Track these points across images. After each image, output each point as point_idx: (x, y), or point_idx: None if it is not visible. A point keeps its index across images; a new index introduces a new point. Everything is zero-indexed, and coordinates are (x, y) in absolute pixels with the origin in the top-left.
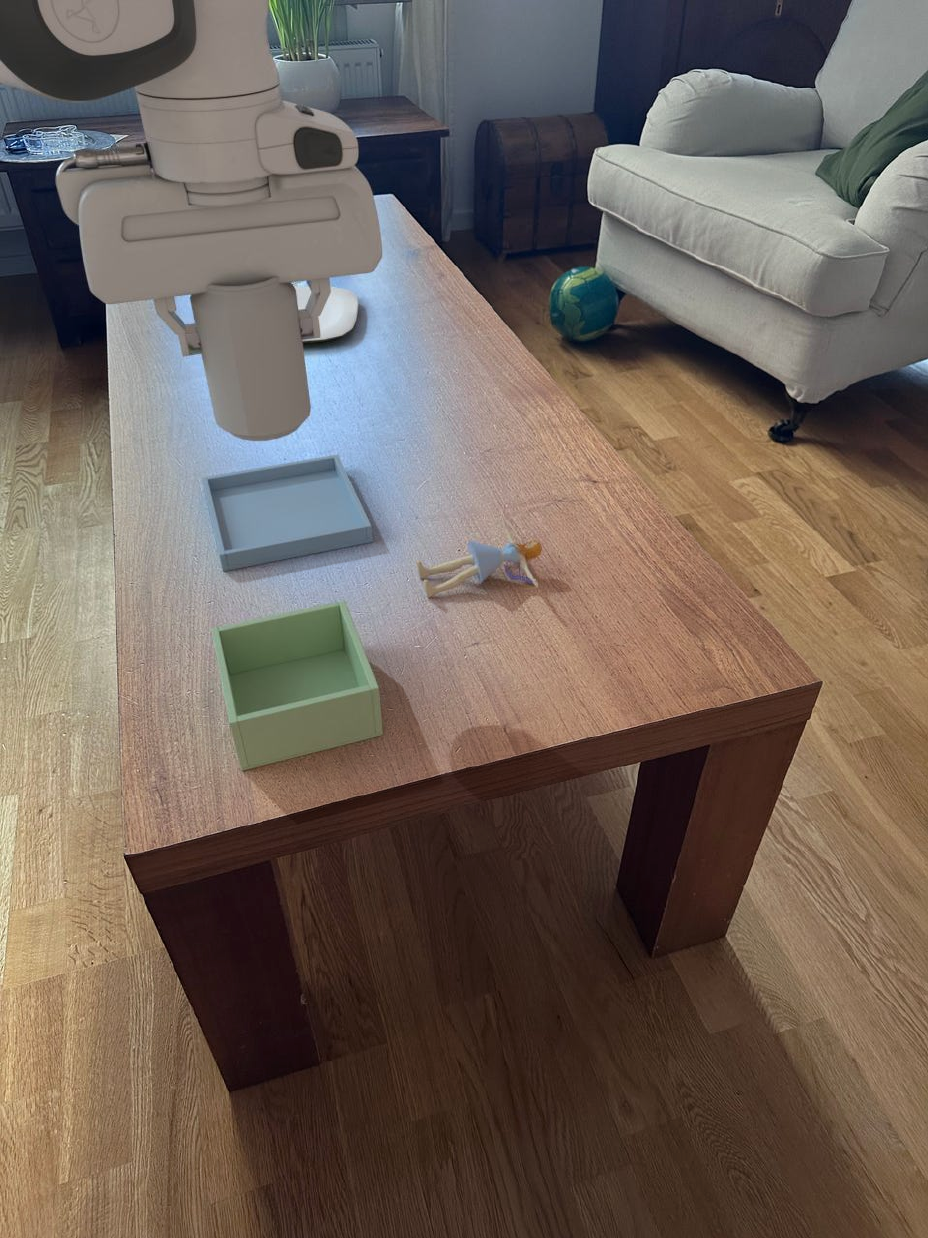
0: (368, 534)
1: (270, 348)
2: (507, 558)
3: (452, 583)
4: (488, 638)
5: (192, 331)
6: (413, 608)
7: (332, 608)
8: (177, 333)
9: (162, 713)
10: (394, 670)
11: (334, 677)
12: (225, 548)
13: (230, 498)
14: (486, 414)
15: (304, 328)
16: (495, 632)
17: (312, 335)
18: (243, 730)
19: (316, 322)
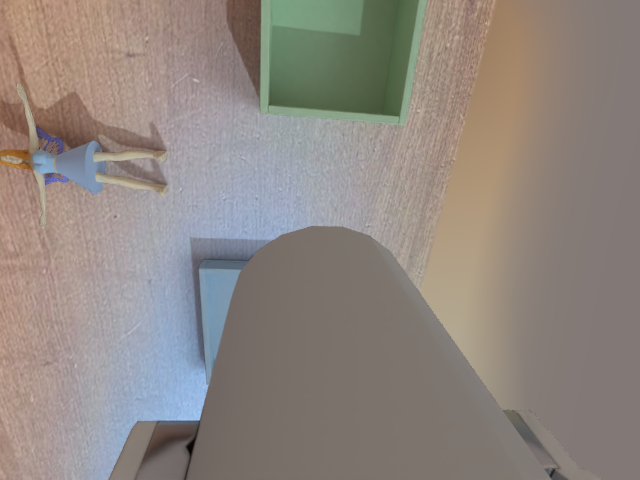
0: (204, 263)
1: (325, 350)
2: (51, 154)
3: (132, 151)
4: (113, 57)
5: None
6: (185, 143)
7: (276, 106)
8: (583, 470)
9: (446, 91)
10: (229, 52)
11: (291, 64)
12: None
13: None
14: (37, 418)
15: (176, 450)
16: (102, 64)
17: (160, 425)
18: None
19: (123, 468)
